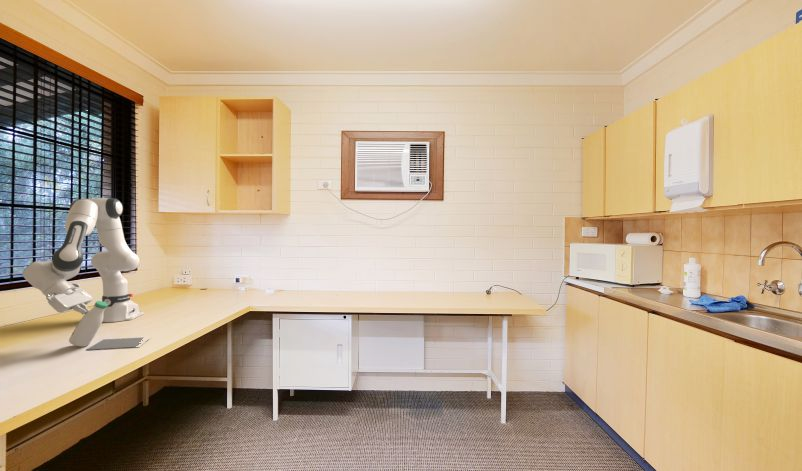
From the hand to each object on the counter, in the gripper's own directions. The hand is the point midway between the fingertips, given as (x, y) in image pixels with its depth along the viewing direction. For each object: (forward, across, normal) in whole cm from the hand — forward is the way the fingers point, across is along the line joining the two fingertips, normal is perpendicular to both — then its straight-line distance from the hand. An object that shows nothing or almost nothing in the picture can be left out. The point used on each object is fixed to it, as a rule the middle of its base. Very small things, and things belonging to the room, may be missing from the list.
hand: (86, 312), depth 160 cm
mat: (+20, +2, +2) cm, 20 cm away
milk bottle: (+7, +1, +12) cm, 14 cm away
